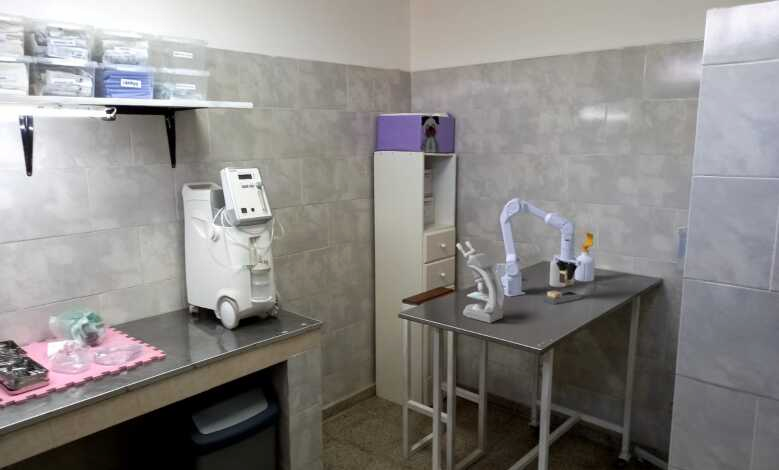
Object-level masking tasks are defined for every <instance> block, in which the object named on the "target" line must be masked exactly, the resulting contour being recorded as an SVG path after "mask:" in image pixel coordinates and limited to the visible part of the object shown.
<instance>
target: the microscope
mask: <svg viewBox="0 0 779 470" xmlns="http://www.w3.org/2000/svg"><path fill="white" fill-rule="evenodd" d="M465 245H466V247H467V248H468V249H469V251H467V252H466V251H465V250H464V248H463V247H464V246H462V244H461V243H459V242H458V243H456V245H455V246H456V247H457V249H458V250H459V251H460V252H461V253H462V254H463V257H464V258H465V259H466V258H468V260H467V262H466V264H467V267H468V268H470V270H471V273H472V275H473V279H474V281H475V282H476V283H477V291H474V292H471V293H469V294H466V297H467V298H468V297H469V298H471V299H474V300H479V301H484V303H485V304H484V303H483V302H475V303H471V304H467V305H466V306H464V307H465V308H464V309H463V310H462V311H463V312H462V314H463V316H464V317H466V318H468V319H473V320H477V321H481V322H485V323H487V324H491V323H493V322H496V321H497V320H501V319H502V318H504V311H503V309H502V307H503V305H504V300H505V295H504V288H503V284H502V281H501V279H500V277H499V275H498V273H497V272H496V269H495V268H494V267H493V266H494V265H493V263H492V261H491V260H490V258H488V256H487V254H485V253H478V251H476V249H475V248H474V247H473V245H472V243H471V242H470V241H469V240H467V241H466V242H465ZM488 272H489V274H491V276H492V278H493V280H492V278H491V277H490V276H489V274H488ZM493 281H494V283H495V285H496V289H495V285H494V283H493ZM484 285H485V287H486V288H487V289H488V293H487V294H486V293H483V292H484ZM496 291H497V292H496ZM496 293H497V294H496Z"/></svg>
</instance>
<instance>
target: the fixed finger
mask: <svg viewBox="0 0 779 470" xmlns="http://www.w3.org/2000/svg"><path fill="white" fill-rule="evenodd" d="M546 293H547V294H546V295H547V296H548V297H551V298H554V299H556V298H561V297H562V293H561V292H559V291H556V290H551V291H547V292H546Z"/></svg>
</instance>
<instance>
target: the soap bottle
mask: <svg viewBox="0 0 779 470" xmlns="http://www.w3.org/2000/svg"><path fill="white" fill-rule="evenodd" d="M581 233H583V234H585V235H586V243H583V244H580V245H579V246H580V247H582V248H583V249H582V250H581V255H578V257H575V259H577V260H579V261H581V265H580V266H578V267H577V268H576V270H575V272H574V279H575V280H576V281H579V282H584V283H585V282H593V281H594V280H595V265H596V260H595V259H594V257H592V256H590V250H588V249H589V247H593V245H594V234H593V233H590V232H586V231H581Z"/></svg>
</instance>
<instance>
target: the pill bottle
mask: <svg viewBox="0 0 779 470" xmlns="http://www.w3.org/2000/svg"><path fill="white" fill-rule="evenodd" d="M556 255H559V256H561V253H560V254H558V253H557V254H554V255H553V257H554V256H556ZM558 261H559V260H554V259H553V260H551V262H550V267H549V285H550V286H551V287H552V288H553V287H554V288H564V287H566V286H564V285H561V284H559V276H560V270H559V268H558V266H557V264H556V262H558Z"/></svg>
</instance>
